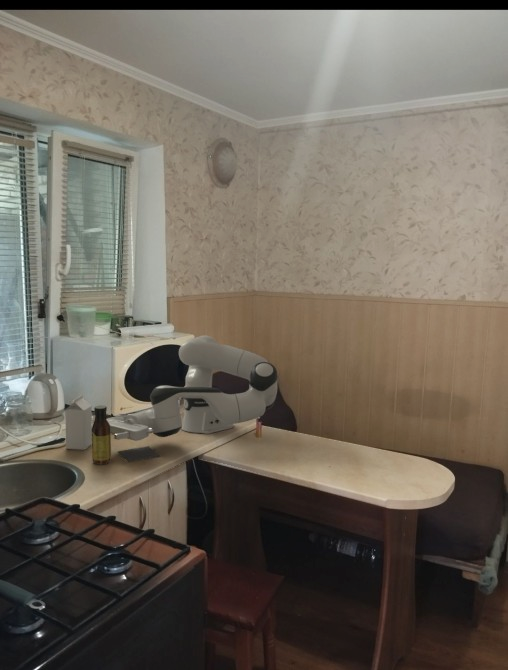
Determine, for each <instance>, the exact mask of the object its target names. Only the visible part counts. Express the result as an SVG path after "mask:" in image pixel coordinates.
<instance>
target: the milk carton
mask: <svg viewBox="0 0 508 670" xmlns="http://www.w3.org/2000/svg"><path fill="white" fill-rule="evenodd" d="M64 411H65V449H66V450H80V451H82V450H83V451H86V449H88V448H89V447H90V446H92V427H93V424H92V417H93V416H92V412H93V411H92V405H91V404H90V403H89V402H88V401H87V400H86V399H84V396H83V394H81V395H80V396H77V397H76V398H75V399H73V400H71V401H70V402H69V406H68V407H67V408H65V410H64Z"/></svg>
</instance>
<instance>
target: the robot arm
mask: <svg viewBox="0 0 508 670" xmlns="http://www.w3.org/2000/svg"><path fill="white" fill-rule="evenodd" d="M178 356H179V360H180V361H181V362H182V363H183V364H185V365H186V366H188V370H187V373H186V375H185V386H172V385H158V386H156V387H154V388H153V390H152V391H151V393H150V395H149V399H150V403H151V406H152V408H149V409H146V410H144V411H139V412H135V413H126V414H125V413H119V414H116V415H115V416H112V417H108V418H106V420H107V421H108V423H109V424H110V435H111V436H113V438H114V440H118V441H119V440H123V439H127V440H131V441H135V442H137V441H142V440H143V439H146V438H148V437H149V435H150V434H153V435H154V436H156V437H159V438H167V437H169V436H170V437H171V436H173V435H175V434H178V433H179V432H180V431H181V430H183V431H185V432H188V433H197V434H198V433H199V434H206V435H207V434H208V435H209V434H213V433H216V432H220V431H225V430H228V429H233V428H234V425H235V424H241V423H245V422H249V421H252V420H255V419H258V418H260V417H262V416H264V414H265V412H266V411H269V410H270V409H272V408H273V406H274V405H275V403H276V401H277V393H278V387H279V386H278V376H279V375H278V371H277V368H276V367H275V365H274V364H272V363H270V362H268V360H267V359H266V358H264V357H263V356H261V355H259V354H257V353H254V352H251V351H248V350H245V349H241V348H240V347H239V348H238V347H235V346H232V345H228V344H221V343H219V342H218V341H217V339H215V338H214V337H213V336H210V335H198V336H197V337H193V338H189V339H187V340H185V341H184V342H183V344H181V346H180V347H179V349H178ZM214 371H219V372H223V373H227V374H230V375H232V376H236V377H239V378H242V379H246V380H248V381H249V383H248V387H249V388H248V390H246V391H245V392H240V393H232V394H231V393H230V394H229V393H224V392H222V390H221V389H220V388H217V387H213V374H214ZM180 398H181V399H182V398H183V407H184V411H183V420H182V416H181V411H180V404H179V400H180Z"/></svg>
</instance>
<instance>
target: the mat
mask: <svg viewBox="0 0 508 670" xmlns="http://www.w3.org/2000/svg"><path fill="white" fill-rule="evenodd" d="M117 455H121V456H120V457H121V458H123V459H124V460H125V459H126V460H127V461H126V460H125V461H126V462H128V463H133V462H136V461H137V460H138V461H142V460H143V459H144V460H148V459H154V458H160V457H161V454H160V453H159V452H158V451H156V450H155V449H153V448H152V447H150V446H149V445H148V446H142V447H135V448H130V449H129V448H128V449H122V450H117ZM144 460H143V461H144ZM132 461H133V462H132ZM138 461H137V462H138Z"/></svg>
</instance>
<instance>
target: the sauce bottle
mask: <svg viewBox="0 0 508 670" xmlns="http://www.w3.org/2000/svg"><path fill="white" fill-rule="evenodd" d="M93 409H94V422H93V424H92V444H91V457H92V462H93V464H95V465H106V464H109V463H110V462H111V457H112V443H111V442H112V441H111V436H112V435H110V424H109V423H108V421H107V420H106V419H108V418H107V409H108V408H107V405H101V404H100V405H95V406H94V408H93Z"/></svg>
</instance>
